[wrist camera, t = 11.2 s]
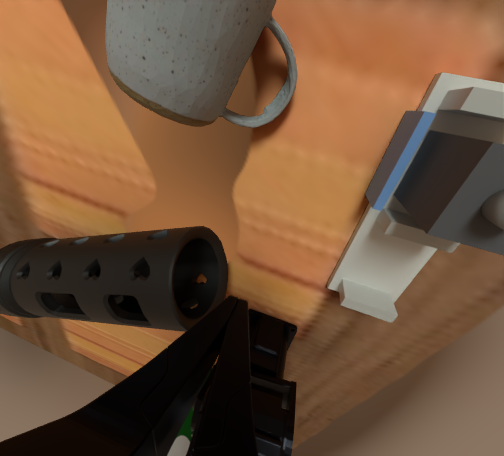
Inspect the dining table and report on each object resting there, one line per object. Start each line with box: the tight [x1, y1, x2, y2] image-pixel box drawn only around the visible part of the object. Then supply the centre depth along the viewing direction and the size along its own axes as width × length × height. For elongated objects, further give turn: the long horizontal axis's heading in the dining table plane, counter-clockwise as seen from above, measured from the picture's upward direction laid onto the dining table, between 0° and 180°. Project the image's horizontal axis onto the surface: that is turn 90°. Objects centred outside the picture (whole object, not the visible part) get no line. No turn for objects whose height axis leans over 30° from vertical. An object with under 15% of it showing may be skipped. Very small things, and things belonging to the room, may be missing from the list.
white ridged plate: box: [327, 72, 504, 323], centre depth 16 cm, size 18×7×3 cm, turn 169°
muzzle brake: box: [0, 226, 228, 332], centre depth 24 cm, size 10×28×10 cm, turn 103°
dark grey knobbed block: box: [393, 130, 504, 255], centre depth 12 cm, size 4×4×7 cm
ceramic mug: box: [106, 0, 297, 128], centre depth 12 cm, size 11×8×8 cm
